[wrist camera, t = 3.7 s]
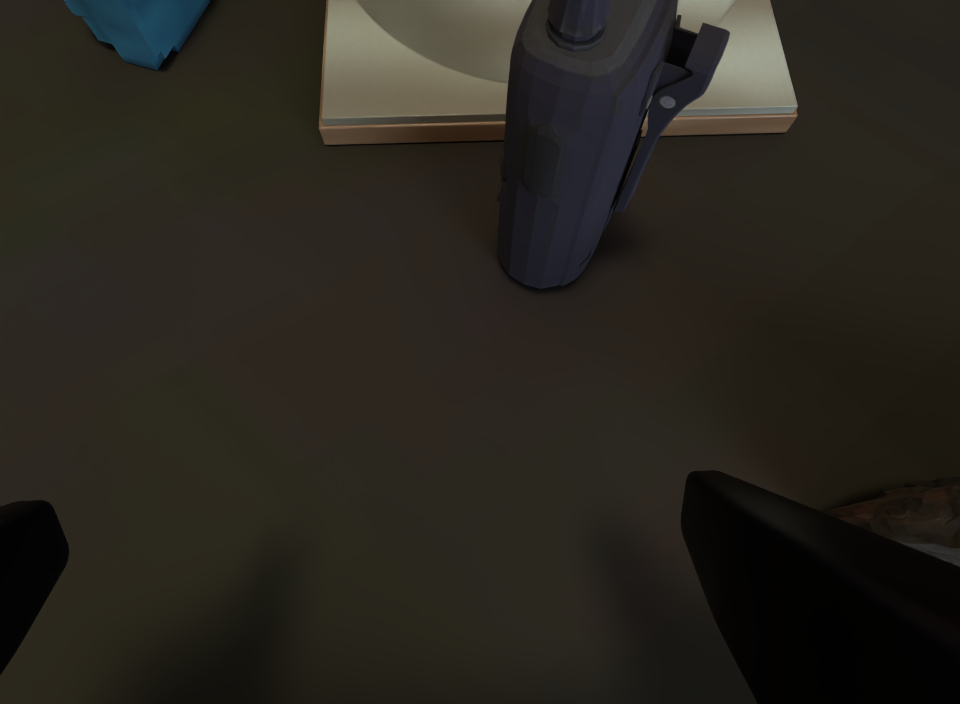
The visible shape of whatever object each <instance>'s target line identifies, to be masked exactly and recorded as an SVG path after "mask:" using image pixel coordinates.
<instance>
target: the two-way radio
mask: <svg viewBox="0 0 960 704" xmlns="http://www.w3.org/2000/svg"><path fill="white" fill-rule="evenodd" d="M677 6H678V0H532V1H531V3H530V5H529V7H528V9H527V11H526V13H525V15H524V17H523V19H522V22H521V24H520V26H519V29H518V31H517V34H516V37H515V41H514V44H513V47H512V52H511V57H510V69H509V79H508V89H507V102H506V118H505V134H504V149H503V152H502V155H501V159H500V164H501V176H502V182H501V184H500V186H499V189H498V194H497V201H500V214H499V228H498V255H499V258H500V260H501V263H502V266H503V268H504V269H505V271H506V272H507V273H508V274H509V275H510V276H511V277H513V278H515V279H516V280H518V281H519V282H521V283H522V284H524V285H528V286H532V287H535V288H539V289H543V288H548V287H553V286H558V285H560V286H564V285H566V284H568V283H570V282H572V281H573V280H575V279H576V278H577V277H578V276H579V275H580V274H581V273H582V271H583V270H584V269H585V267H586V266H587V264H588V262H589V260H590V258H591V257H592V255H593V253H594V251H595V249H596V247H597V244H598V242H599V240H600V237H601V235H602V232H603V231H604V230H605V228H606V226H607V224H608V222H609V220H610V217H611V215H612V212H613V209H614V212H622V211H624V210H625V209H626V207H627V205H628V203H629V201H630V199H631V197H632V195H633V193H634V191H635V189H636V187H637V184H638V182H639V179H640V177H641V175H642V173H643V171H644V168H645V166H646V164H647V162H648V160H649V157H650V155H651V153H652V151H653V149H654V147H655V145H656V143H657V141H658V139H659V137H660V135H661V134H662V132H663V131H664V129H665V128H666V127H667V125H668V124H669V123H670V122H671V121H672V120H673V119H674V118H675V116H676V115H677V114H678V113H679V112H680V111H681V110H682V109H684V108H685V107H686V106H687V105H689V104H690V103H691V102H693V101H695V100H696V99H698V98H699V97H701V96H702V95H704V93H705V91H706V90H707V88H708V86H709V84H710V82H711V80H712V78H713V76H714V73H715V71H716V68H717V66H718V64H719V62H720V60H721V58H722V56H723V53H724V51H725V48H726V46H727V43H728V40H729V36H730V32H729V31H728V30H726V29H723V28H719V27H716V26H713V25H710V24H706V23H702V26H701V28H700V31H699V33H695V32H692V31H689V30H686V29H683V28H680V23H681V16H682V15H679V14H678V15H677V19H676V14H677ZM648 110H649V112H648ZM647 112H648V129H647V133H646V136H645V138H644V141H643V144H642V146H641V149H640V151H639V153H638V155H637V158H636V160H635V162H634V165H633V167H632V169H631V172H630V174H629V176H628V178H627V180H626V182H625V184H624V186H623V183H624V180H625V178H626V175H627V172H628V170H629V167H630V165H631V162H632V159H633V157H634V154H635V151H636V149H637V146H638V144H639V141H640V138H641V134H642V131H643V130H641V128H642V126H643V123H644V120H645V118H646V115H647ZM622 186H623V188H622ZM621 188H622V191H621ZM620 191H621V193H620ZM619 194H620V196H619ZM618 196H619V198H618ZM617 199H618V200H617ZM616 201H617V203H616ZM615 204H616V205H615ZM614 207H615V208H614Z"/></svg>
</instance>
